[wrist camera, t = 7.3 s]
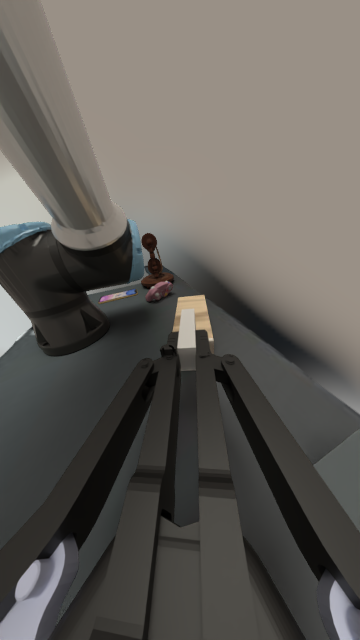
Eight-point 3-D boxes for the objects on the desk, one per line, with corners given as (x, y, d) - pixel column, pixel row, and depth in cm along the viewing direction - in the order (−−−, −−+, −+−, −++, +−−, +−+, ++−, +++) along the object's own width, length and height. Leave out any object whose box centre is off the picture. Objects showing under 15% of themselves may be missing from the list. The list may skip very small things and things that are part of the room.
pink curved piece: (152, 307, 48) (153, 292, 43) (144, 300, 49) (144, 283, 44) (173, 297, 54) (176, 281, 48) (164, 290, 55) (167, 274, 50)
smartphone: (101, 298, 60) (100, 296, 59) (137, 290, 63) (136, 287, 62) (98, 305, 53) (97, 302, 53) (138, 295, 56) (137, 293, 56)
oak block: (213, 341, 19) (204, 295, 33) (170, 343, 20) (178, 297, 33) (213, 369, 22) (205, 316, 36) (176, 370, 23) (181, 318, 37)
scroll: (176, 285, 59) (168, 229, 49) (142, 292, 58) (125, 236, 47) (171, 276, 72) (164, 231, 61) (143, 282, 70) (130, 236, 60)
